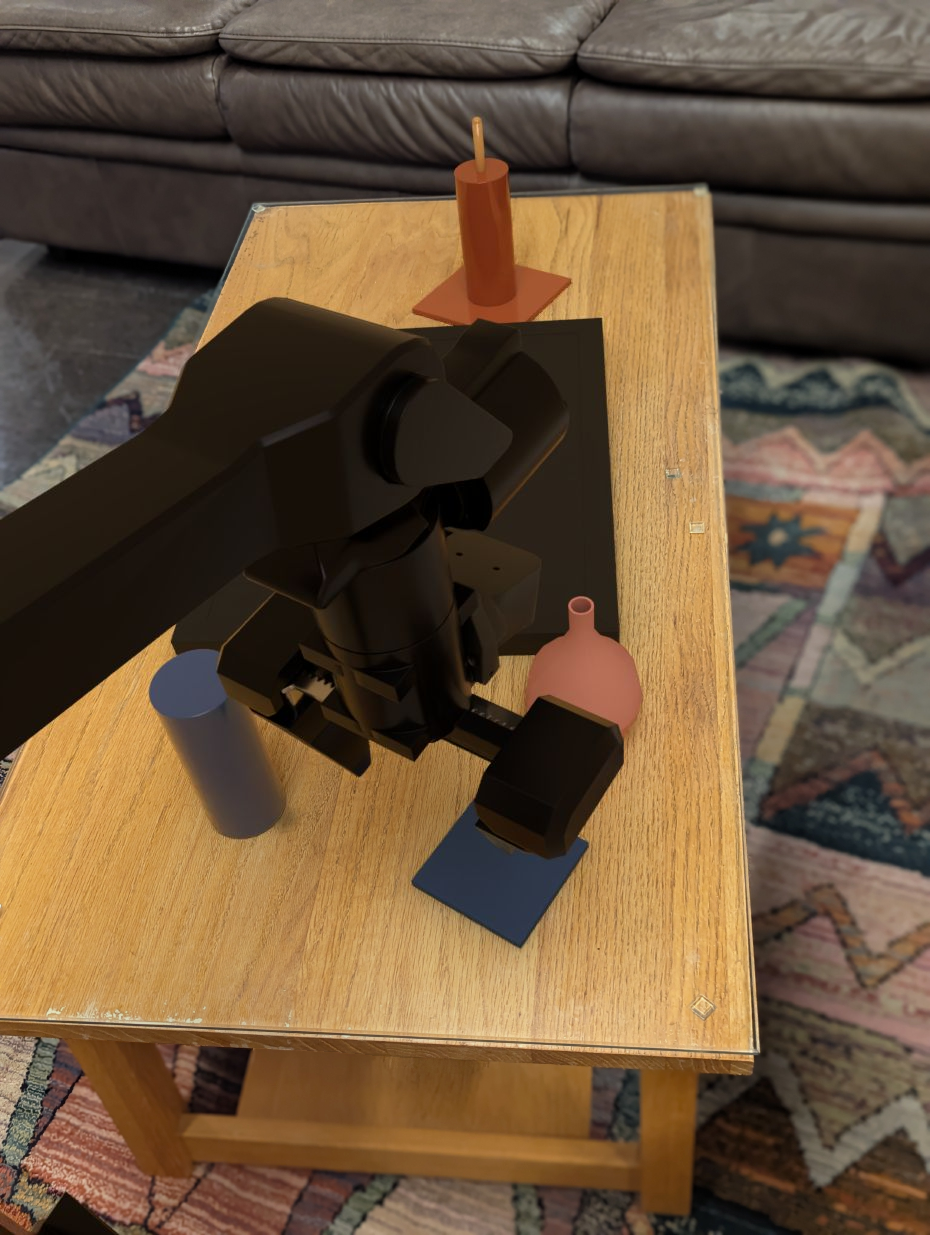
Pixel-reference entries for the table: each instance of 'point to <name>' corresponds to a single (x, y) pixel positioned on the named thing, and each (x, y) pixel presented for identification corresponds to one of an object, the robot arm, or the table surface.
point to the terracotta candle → (486, 226)
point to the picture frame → (515, 503)
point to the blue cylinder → (217, 745)
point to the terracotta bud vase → (587, 670)
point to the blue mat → (494, 880)
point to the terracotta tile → (524, 307)
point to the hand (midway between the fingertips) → (435, 806)
